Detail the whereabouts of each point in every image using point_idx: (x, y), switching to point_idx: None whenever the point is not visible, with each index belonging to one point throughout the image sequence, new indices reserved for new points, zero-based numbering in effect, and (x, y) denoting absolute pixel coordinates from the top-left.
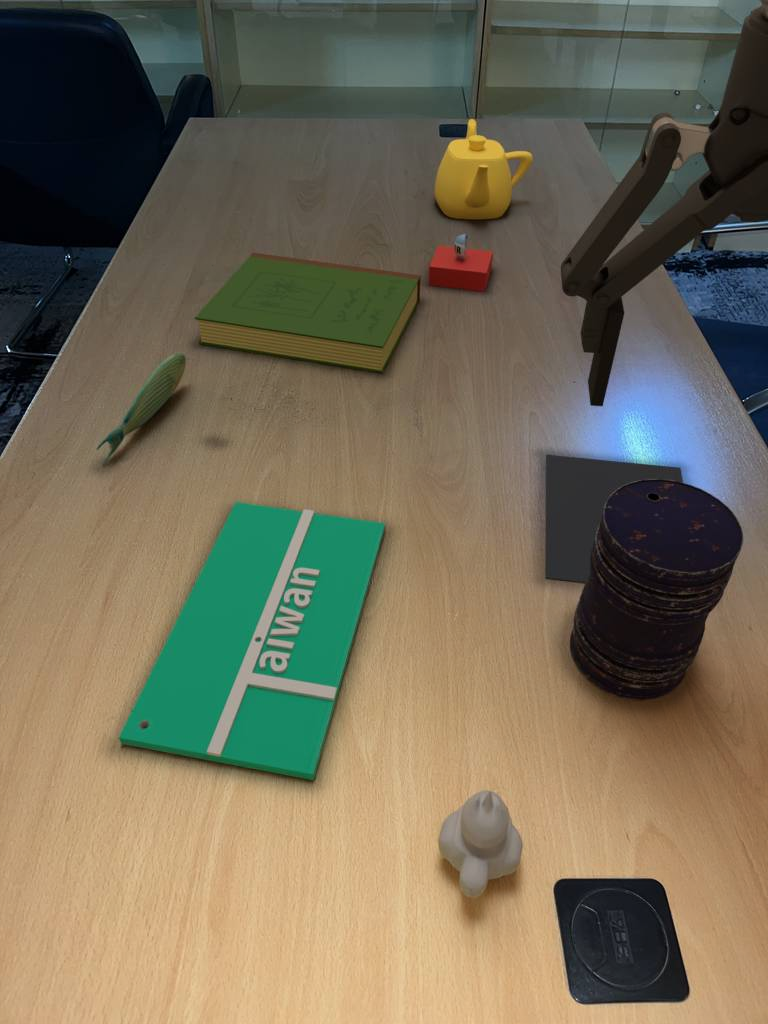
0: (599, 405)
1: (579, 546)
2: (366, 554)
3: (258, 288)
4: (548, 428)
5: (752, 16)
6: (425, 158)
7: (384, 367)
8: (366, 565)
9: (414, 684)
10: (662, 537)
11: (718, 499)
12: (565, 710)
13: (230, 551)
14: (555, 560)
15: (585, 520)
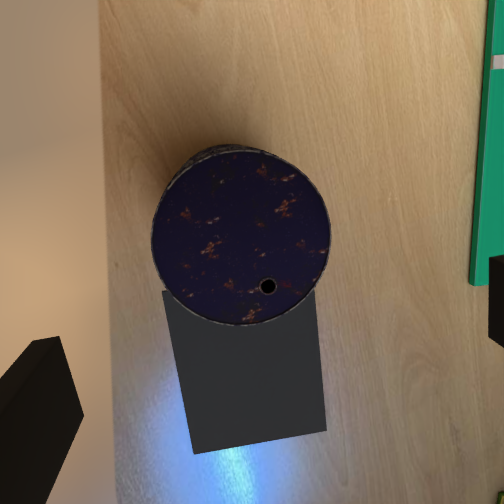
0: (496, 256)
1: (283, 318)
2: (486, 240)
3: None
4: (327, 467)
5: None
6: None
7: (499, 500)
8: (484, 227)
9: (416, 106)
10: (254, 213)
11: (184, 306)
12: (279, 116)
13: None
14: None
15: (281, 354)
